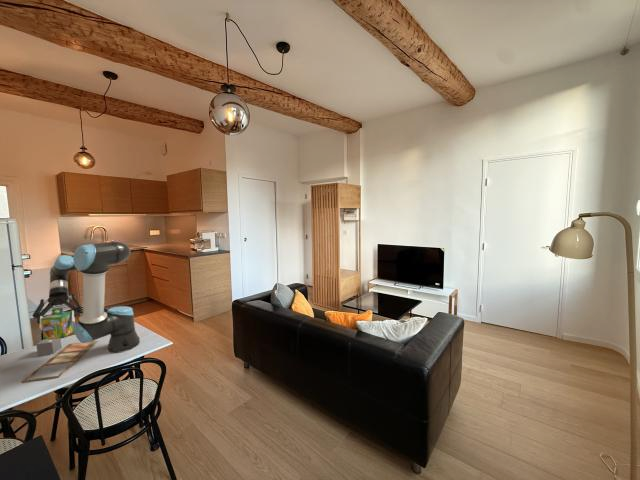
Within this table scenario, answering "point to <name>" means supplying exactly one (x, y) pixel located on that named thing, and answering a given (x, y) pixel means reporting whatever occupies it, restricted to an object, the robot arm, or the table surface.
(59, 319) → the chalk box
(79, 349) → the board
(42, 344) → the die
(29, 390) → the table surface
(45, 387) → the table surface
